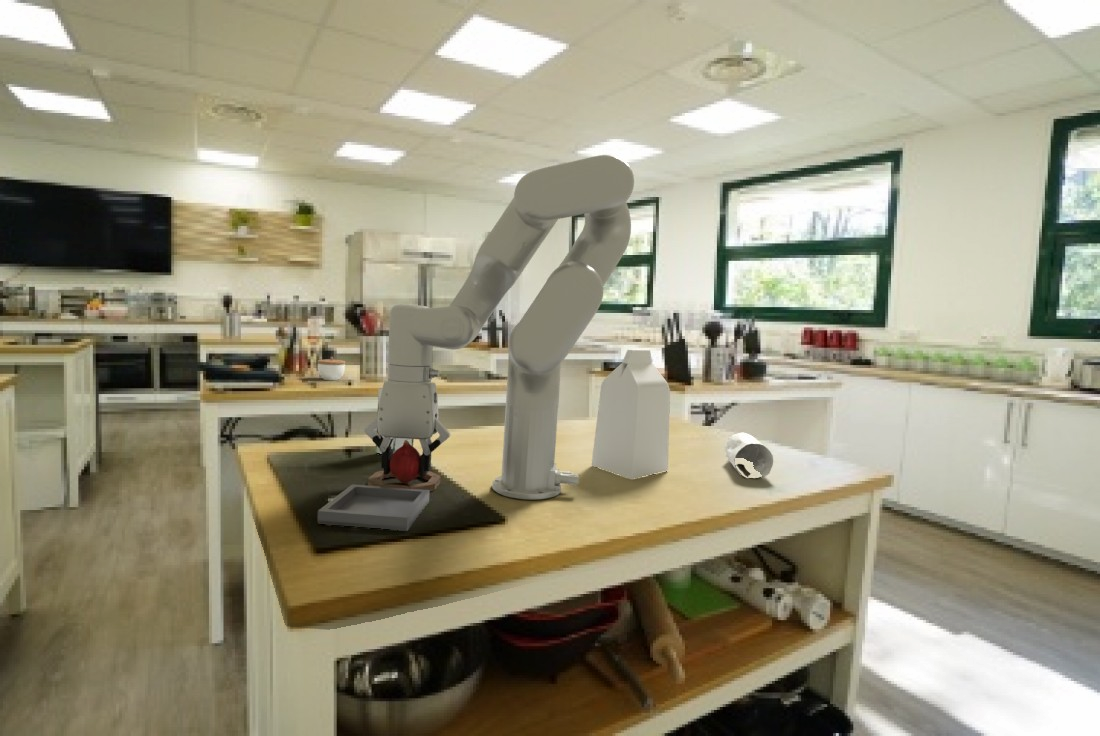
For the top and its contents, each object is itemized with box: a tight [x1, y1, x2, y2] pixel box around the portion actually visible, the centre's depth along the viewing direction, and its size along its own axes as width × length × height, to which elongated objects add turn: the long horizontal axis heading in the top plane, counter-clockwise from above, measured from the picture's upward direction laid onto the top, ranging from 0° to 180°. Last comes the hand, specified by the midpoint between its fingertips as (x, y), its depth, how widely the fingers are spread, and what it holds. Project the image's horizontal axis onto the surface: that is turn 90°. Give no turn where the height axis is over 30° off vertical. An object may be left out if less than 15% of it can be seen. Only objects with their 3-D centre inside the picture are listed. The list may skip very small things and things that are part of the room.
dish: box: [316, 483, 431, 532], centre depth 88 cm, size 13×13×2 cm
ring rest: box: [367, 469, 442, 492], centre depth 103 cm, size 12×12×1 cm
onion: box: [389, 440, 422, 485], centre depth 103 cm, size 6×6×8 cm
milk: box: [591, 349, 671, 480], centre depth 123 cm, size 12×12×26 cm
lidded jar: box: [317, 356, 346, 381], centre depth 234 cm, size 11×11×9 cm
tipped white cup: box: [724, 431, 774, 478], centre depth 131 cm, size 8×19×8 cm, turn 173°
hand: (405, 472), depth 103 cm, fingers closed on onion, 5 cm apart
